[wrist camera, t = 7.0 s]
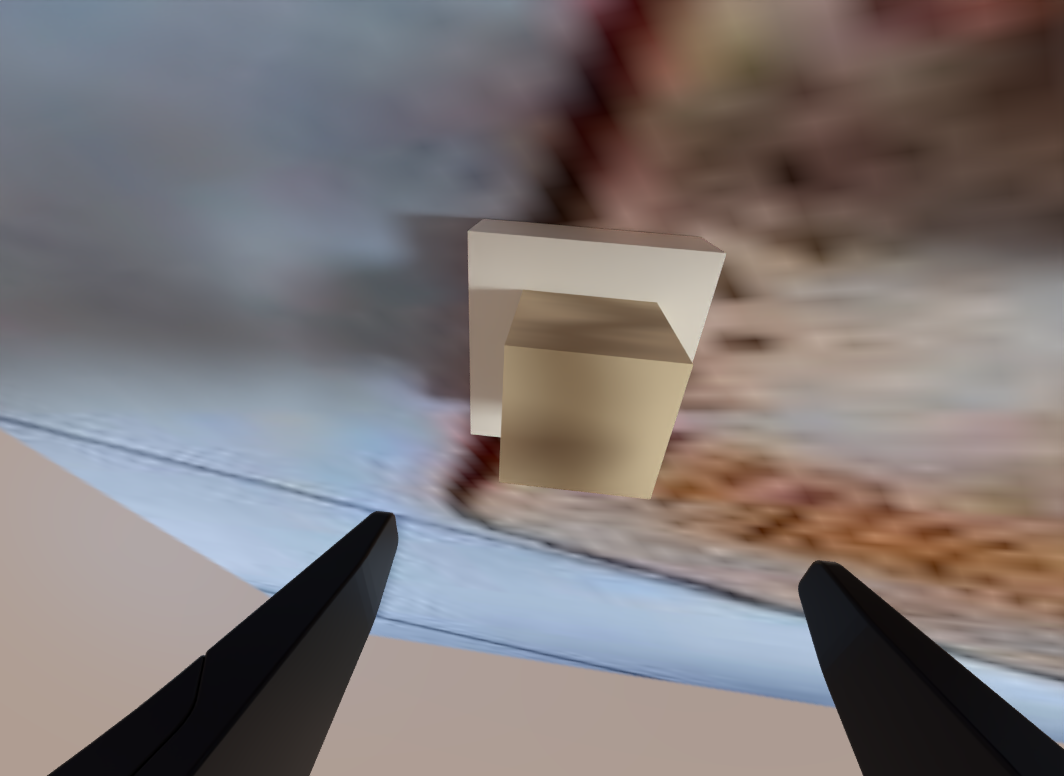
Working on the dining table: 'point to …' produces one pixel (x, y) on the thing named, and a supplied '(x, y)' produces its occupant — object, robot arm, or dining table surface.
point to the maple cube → (589, 393)
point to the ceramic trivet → (575, 287)
